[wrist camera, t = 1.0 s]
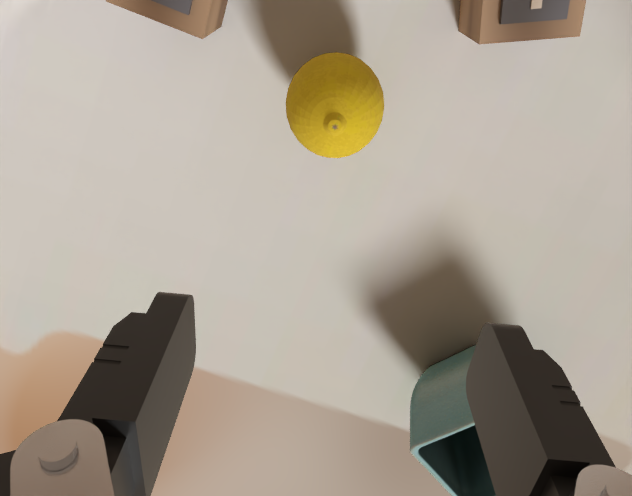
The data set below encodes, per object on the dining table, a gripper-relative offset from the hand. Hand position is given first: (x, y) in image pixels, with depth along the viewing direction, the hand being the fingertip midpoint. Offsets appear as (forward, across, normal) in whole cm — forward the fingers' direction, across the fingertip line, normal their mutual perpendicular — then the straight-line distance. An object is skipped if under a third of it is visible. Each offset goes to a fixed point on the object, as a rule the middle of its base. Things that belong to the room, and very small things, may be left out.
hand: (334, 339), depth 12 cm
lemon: (+24, 0, 0) cm, 24 cm away
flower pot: (+24, -14, +23) cm, 36 cm away
